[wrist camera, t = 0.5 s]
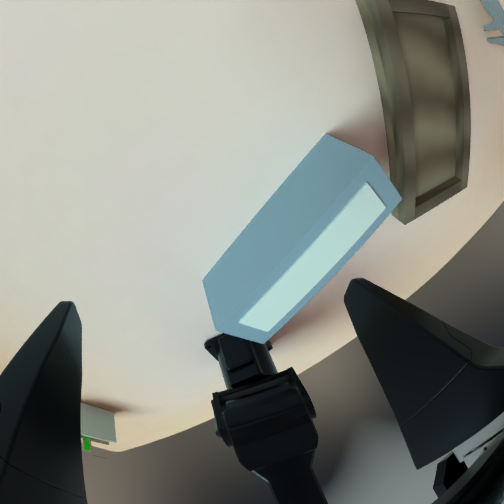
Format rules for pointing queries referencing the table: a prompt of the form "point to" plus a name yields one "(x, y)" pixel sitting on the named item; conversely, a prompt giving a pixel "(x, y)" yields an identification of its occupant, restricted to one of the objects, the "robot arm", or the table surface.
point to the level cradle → (421, 99)
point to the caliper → (495, 20)
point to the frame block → (299, 240)
